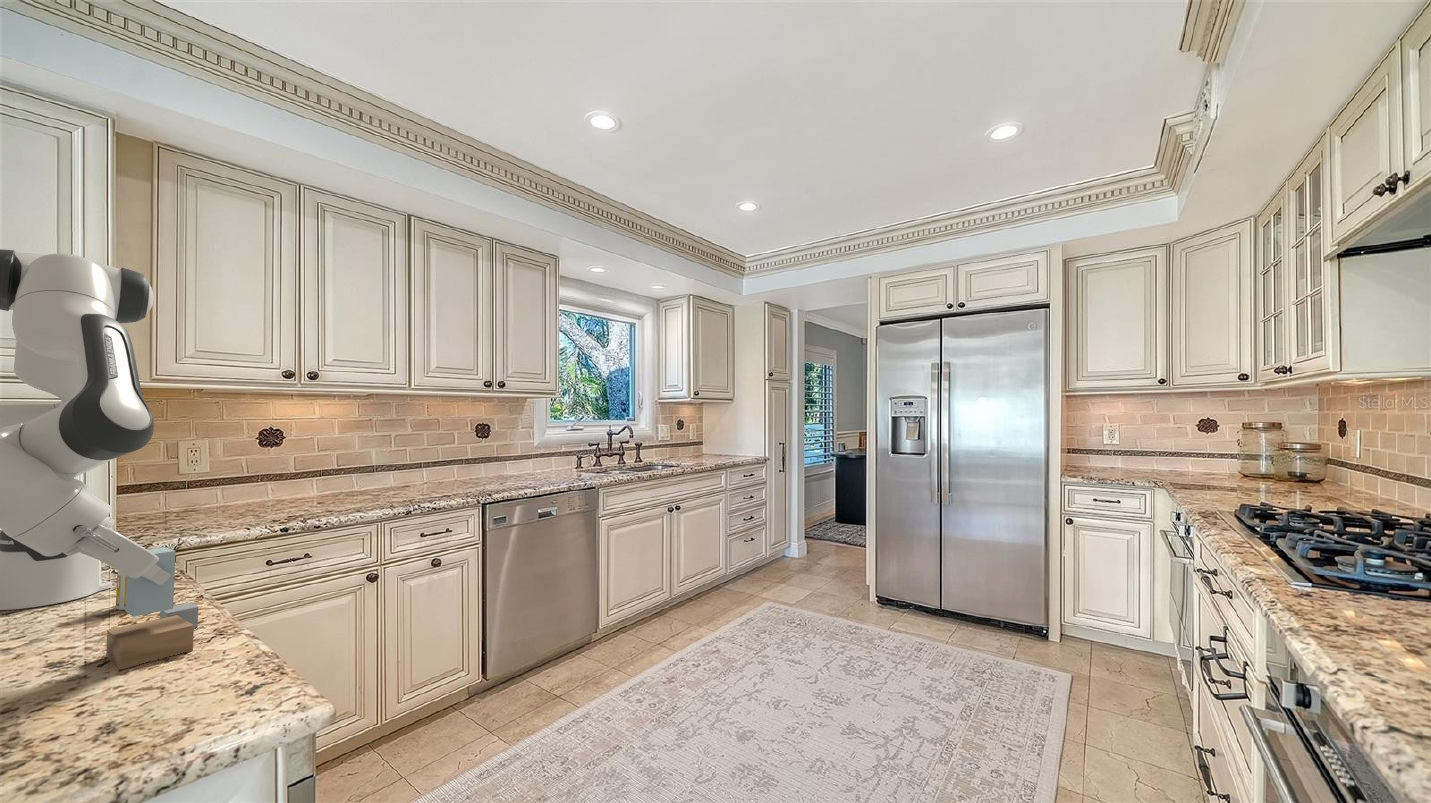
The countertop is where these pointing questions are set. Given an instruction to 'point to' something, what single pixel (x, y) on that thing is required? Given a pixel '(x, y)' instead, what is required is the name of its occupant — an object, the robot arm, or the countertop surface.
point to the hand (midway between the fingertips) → (159, 576)
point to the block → (183, 613)
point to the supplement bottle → (121, 591)
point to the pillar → (152, 588)
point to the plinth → (149, 641)
